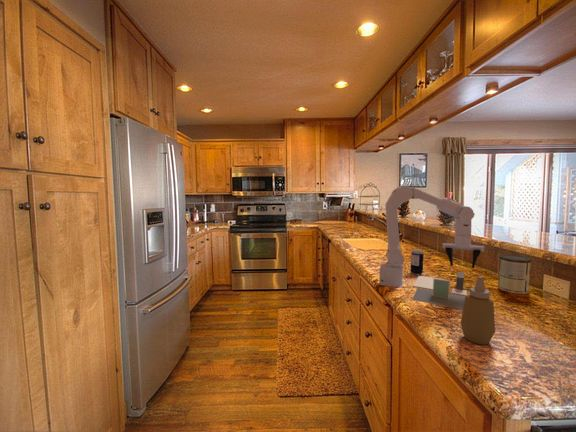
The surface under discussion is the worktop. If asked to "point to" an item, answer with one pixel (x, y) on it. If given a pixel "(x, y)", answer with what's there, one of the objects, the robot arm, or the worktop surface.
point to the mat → (439, 299)
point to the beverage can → (417, 262)
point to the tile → (441, 287)
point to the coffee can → (514, 274)
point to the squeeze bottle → (478, 315)
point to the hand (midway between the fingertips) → (462, 266)
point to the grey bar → (459, 285)
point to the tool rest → (424, 282)
